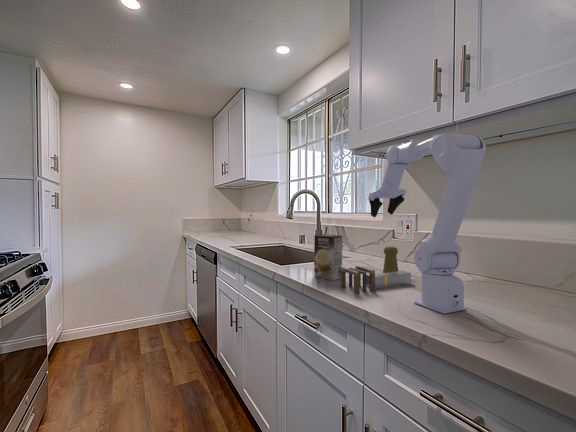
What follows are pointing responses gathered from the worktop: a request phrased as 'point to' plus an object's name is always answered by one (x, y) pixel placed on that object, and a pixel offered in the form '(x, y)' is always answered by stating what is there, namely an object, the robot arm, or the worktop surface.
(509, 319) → the worktop surface
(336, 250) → the coffee box
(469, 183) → the robot arm
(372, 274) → the wooden slatted rack
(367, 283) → the tube
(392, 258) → the cork
